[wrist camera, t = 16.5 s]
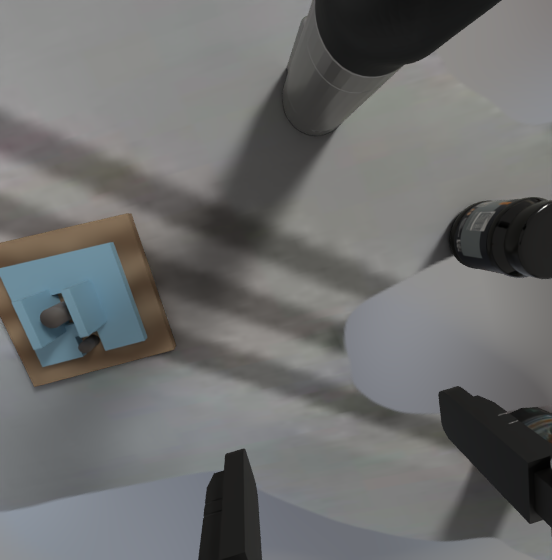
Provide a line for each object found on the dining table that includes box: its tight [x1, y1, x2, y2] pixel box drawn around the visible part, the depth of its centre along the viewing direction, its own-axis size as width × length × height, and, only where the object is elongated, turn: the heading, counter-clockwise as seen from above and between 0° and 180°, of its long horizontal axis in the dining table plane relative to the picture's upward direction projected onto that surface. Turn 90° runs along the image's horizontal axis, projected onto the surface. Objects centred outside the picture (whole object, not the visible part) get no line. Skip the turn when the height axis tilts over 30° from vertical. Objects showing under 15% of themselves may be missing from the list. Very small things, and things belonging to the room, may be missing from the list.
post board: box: [0, 214, 176, 387], centre depth 37 cm, size 20×20×8 cm
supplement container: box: [450, 197, 552, 279], centre depth 41 cm, size 10×10×12 cm
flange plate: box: [0, 242, 147, 367], centre depth 37 cm, size 14×14×6 cm
